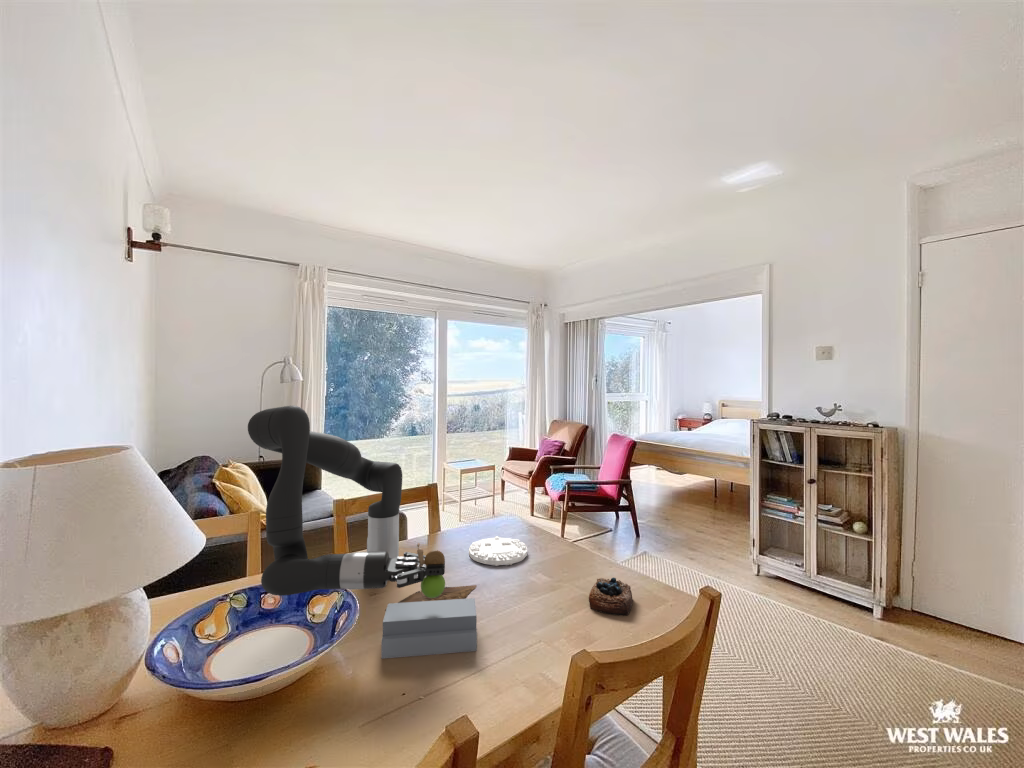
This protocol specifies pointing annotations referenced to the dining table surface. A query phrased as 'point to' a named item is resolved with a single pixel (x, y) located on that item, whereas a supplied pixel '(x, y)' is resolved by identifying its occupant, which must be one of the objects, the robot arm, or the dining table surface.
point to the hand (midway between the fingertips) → (444, 567)
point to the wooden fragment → (442, 594)
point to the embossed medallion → (498, 551)
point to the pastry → (611, 597)
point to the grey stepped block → (429, 628)
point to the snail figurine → (433, 583)
